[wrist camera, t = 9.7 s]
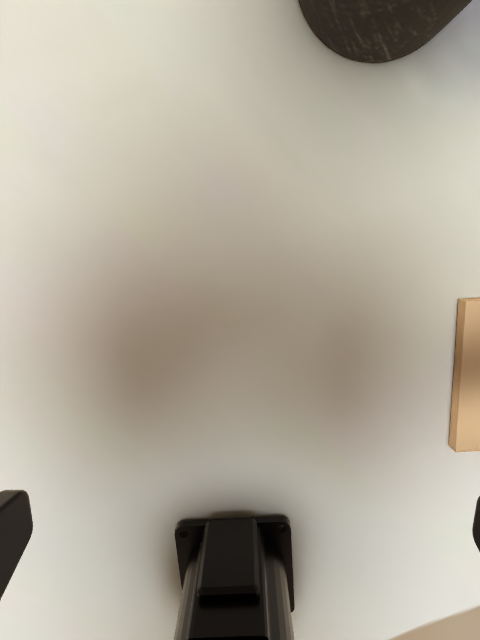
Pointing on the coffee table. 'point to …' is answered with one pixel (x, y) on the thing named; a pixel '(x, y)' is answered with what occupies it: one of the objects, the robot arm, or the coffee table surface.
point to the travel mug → (378, 25)
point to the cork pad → (466, 379)
